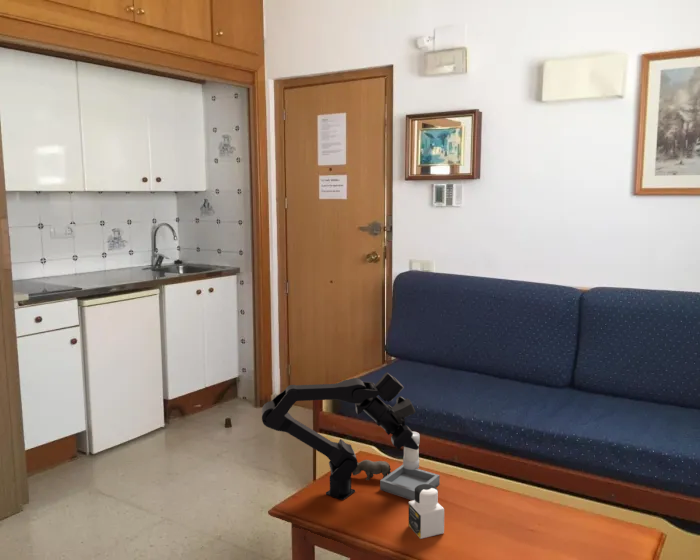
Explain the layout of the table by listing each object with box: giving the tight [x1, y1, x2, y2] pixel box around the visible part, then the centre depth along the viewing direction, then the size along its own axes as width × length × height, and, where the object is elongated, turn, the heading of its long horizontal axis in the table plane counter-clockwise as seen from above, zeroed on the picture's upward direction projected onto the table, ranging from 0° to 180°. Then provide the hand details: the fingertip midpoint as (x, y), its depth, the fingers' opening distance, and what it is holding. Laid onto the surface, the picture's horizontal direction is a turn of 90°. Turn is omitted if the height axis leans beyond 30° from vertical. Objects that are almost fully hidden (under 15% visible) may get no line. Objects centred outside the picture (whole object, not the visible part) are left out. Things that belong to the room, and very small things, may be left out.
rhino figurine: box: [352, 459, 392, 481], centre depth 200 cm, size 4×14×6 cm, turn 80°
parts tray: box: [379, 464, 441, 501], centre depth 194 cm, size 13×13×3 cm
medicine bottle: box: [408, 484, 445, 540], centre depth 170 cm, size 7×7×12 cm
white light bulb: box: [402, 430, 421, 470], centre depth 192 cm, size 5×5×10 cm
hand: (415, 445), depth 192 cm, fingers closed on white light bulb, 5 cm apart
